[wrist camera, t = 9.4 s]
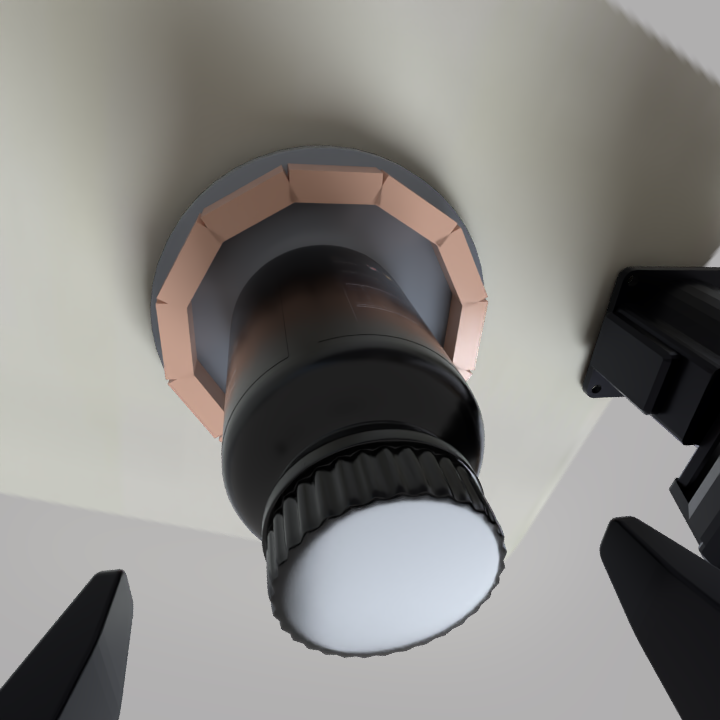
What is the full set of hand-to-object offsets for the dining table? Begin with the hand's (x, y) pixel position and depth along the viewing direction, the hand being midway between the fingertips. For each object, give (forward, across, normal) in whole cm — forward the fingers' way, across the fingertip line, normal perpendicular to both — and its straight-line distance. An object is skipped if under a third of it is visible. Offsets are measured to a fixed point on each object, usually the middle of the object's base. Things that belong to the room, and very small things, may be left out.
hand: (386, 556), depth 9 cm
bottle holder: (+13, 0, +1) cm, 13 cm away
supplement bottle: (+12, 0, +1) cm, 12 cm away
